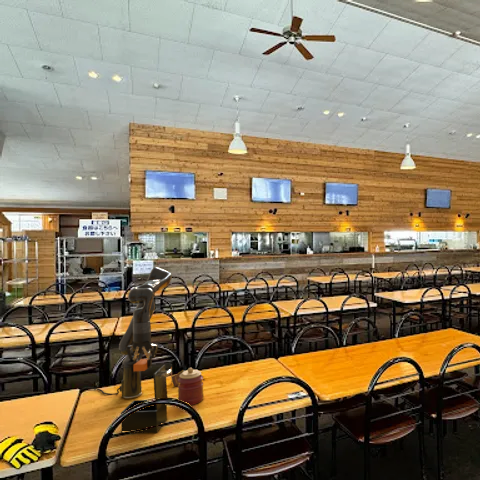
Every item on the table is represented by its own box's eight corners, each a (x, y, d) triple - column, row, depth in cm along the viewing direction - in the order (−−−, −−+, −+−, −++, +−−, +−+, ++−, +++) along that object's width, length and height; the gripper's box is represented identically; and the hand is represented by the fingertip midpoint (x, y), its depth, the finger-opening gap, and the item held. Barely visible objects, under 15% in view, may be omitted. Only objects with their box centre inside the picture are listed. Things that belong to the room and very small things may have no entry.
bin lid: (153, 374, 170) (164, 373, 170) (163, 364, 182) (174, 363, 182) (155, 410, 170) (167, 409, 170) (165, 398, 182) (176, 397, 182)
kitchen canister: (205, 394, 211) (204, 363, 210) (201, 404, 198) (200, 371, 198) (181, 396, 209) (180, 364, 209) (175, 406, 196) (174, 372, 196)
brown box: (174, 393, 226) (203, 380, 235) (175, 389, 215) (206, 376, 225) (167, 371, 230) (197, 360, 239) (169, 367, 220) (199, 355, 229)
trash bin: (121, 434, 169) (121, 412, 169) (134, 420, 182) (133, 400, 182) (156, 432, 170) (156, 411, 170) (167, 419, 182) (166, 399, 182)
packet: (144, 370, 172) (144, 364, 172) (133, 371, 172) (133, 364, 172) (151, 365, 180) (151, 358, 180) (141, 365, 180) (140, 359, 180)
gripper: (160, 328, 180) (161, 364, 180) (130, 329, 179) (130, 365, 179) (154, 332, 172) (155, 369, 172) (122, 333, 172) (123, 370, 172)
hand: (142, 367), depth 176 cm, fingers closed on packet, 5 cm apart
